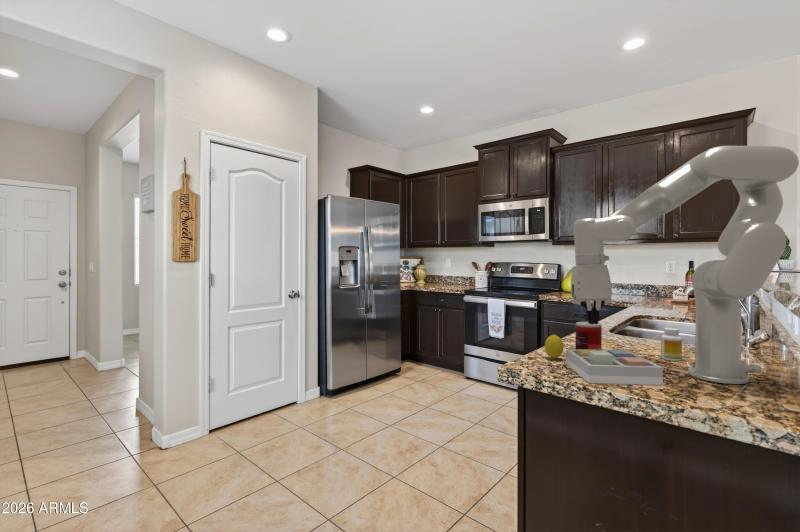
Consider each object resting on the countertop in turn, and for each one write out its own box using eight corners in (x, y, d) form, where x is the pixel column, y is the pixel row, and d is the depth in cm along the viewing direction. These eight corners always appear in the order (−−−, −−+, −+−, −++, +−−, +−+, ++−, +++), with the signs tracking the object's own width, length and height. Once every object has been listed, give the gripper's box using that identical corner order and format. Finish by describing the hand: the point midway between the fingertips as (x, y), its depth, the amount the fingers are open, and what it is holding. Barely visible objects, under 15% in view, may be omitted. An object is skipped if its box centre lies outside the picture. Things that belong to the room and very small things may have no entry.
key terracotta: (638, 368, 105) (638, 357, 105) (647, 373, 100) (647, 361, 100) (620, 367, 105) (620, 356, 105) (628, 372, 101) (628, 361, 101)
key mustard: (594, 359, 114) (594, 349, 114) (600, 363, 109) (600, 353, 109) (577, 359, 114) (577, 349, 114) (583, 363, 110) (583, 353, 110)
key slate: (623, 360, 113) (623, 350, 113) (631, 364, 108) (631, 353, 108) (607, 359, 114) (607, 349, 113) (614, 364, 109) (614, 353, 109)
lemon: (565, 361, 120) (565, 336, 120) (546, 360, 121) (546, 335, 121) (561, 357, 126) (561, 332, 125) (543, 356, 127) (543, 332, 127)
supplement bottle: (686, 361, 120) (686, 330, 119) (668, 361, 120) (668, 330, 119) (673, 356, 125) (674, 327, 125) (657, 356, 125) (657, 327, 125)
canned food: (602, 355, 127) (602, 322, 127) (600, 361, 121) (600, 326, 120) (577, 352, 131) (577, 320, 131) (573, 357, 125) (573, 324, 125)
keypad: (628, 365, 115) (628, 350, 115) (662, 385, 97) (663, 367, 97) (566, 364, 117) (566, 349, 117) (588, 383, 99) (588, 365, 99)
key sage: (606, 361, 106) (606, 351, 105) (613, 366, 101) (613, 355, 101) (588, 361, 106) (588, 350, 106) (595, 366, 101) (595, 354, 101)
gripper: (611, 259, 114) (614, 320, 114) (559, 262, 116) (562, 322, 116) (622, 259, 107) (626, 324, 107) (567, 262, 108) (570, 326, 109)
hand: (593, 323), depth 111 cm, fingers closed
